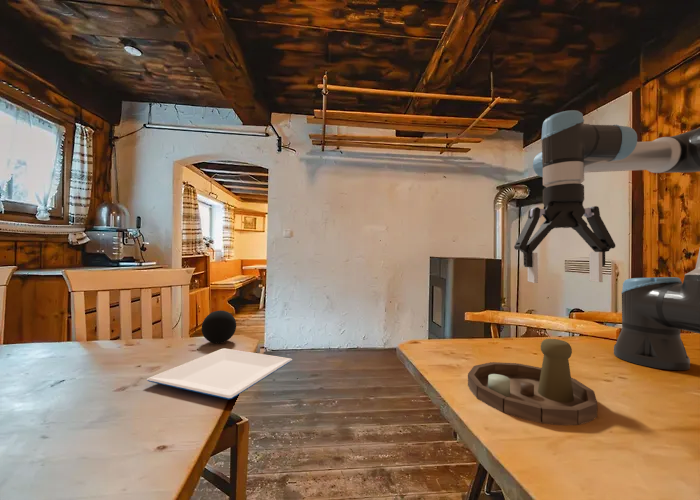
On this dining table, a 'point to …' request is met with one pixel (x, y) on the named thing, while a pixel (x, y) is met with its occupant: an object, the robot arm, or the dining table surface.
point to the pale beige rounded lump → (499, 384)
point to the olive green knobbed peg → (556, 371)
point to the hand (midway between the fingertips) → (564, 282)
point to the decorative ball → (218, 327)
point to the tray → (531, 395)
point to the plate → (221, 372)
